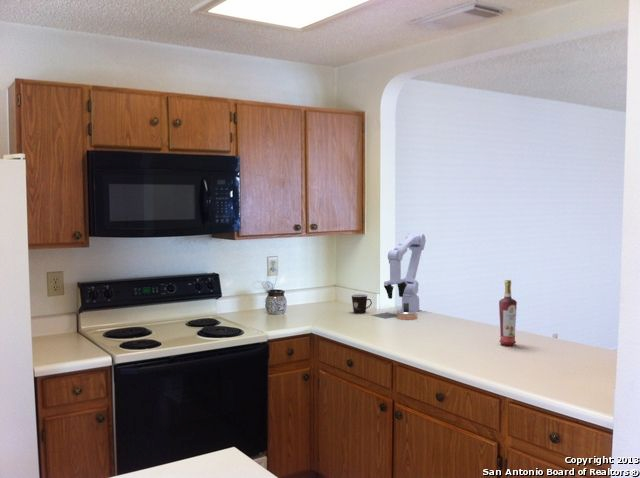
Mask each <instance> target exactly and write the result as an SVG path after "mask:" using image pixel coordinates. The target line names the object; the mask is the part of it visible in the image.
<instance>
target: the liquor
mask: <svg viewBox="0 0 640 478" xmlns="http://www.w3.org/2000/svg"><path fill="white" fill-rule="evenodd" d="M511 287H512V280H511V279H505V280H504V295H503V298H501V299H500V300H499V301H498V311H499V328H500V330H499V331H500V333H499V335H500V336H499V337H500V340H499V343H500V344H501V345H502V346H504V345H505V346H506V347H513V346H514V345H515V344H517V341H516V320H517V304H518V302H517V301H516V300H515V299H513V298H512V288H511ZM512 345H513V346H512Z"/></svg>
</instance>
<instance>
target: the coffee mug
mask: <svg viewBox="0 0 640 478" xmlns="http://www.w3.org/2000/svg"><path fill="white" fill-rule="evenodd" d="M351 301H352V310H353V314H356V315H363V314H367V313H366V312H367V309H368V308H370V307H371V306H372V304H373V302H372V299H370V298H368V295H367V294H362V293H359V294H358V293H357V294H351ZM368 301H370V304H369V305H368V306H367V302H368Z"/></svg>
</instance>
